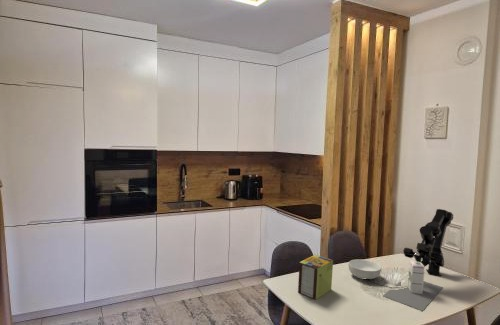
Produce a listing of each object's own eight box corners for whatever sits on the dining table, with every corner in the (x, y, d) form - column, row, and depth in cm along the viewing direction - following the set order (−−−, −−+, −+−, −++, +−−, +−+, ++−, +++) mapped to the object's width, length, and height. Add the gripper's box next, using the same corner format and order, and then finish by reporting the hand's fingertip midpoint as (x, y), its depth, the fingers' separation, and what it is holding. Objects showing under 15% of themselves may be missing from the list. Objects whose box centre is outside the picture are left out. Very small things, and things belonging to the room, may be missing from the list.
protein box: (331, 289, 163) (333, 259, 162) (315, 300, 152) (317, 268, 150) (313, 282, 170) (315, 254, 169) (297, 292, 159) (298, 261, 157)
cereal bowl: (380, 274, 183) (381, 262, 183) (379, 286, 168) (380, 273, 168) (350, 268, 191) (350, 256, 190) (345, 279, 175) (346, 266, 175)
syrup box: (422, 294, 161) (425, 266, 160) (410, 292, 162) (412, 264, 161) (419, 288, 167) (421, 261, 165) (407, 287, 168) (409, 260, 166)
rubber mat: (407, 276, 182) (407, 275, 182) (442, 287, 170) (443, 287, 170) (382, 296, 158) (382, 295, 158) (422, 311, 146) (422, 310, 146)
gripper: (405, 232, 175) (396, 257, 168) (444, 241, 162) (436, 268, 155) (409, 243, 182) (400, 268, 175) (447, 253, 169) (439, 279, 162)
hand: (418, 270), depth 166 cm, fingers closed
